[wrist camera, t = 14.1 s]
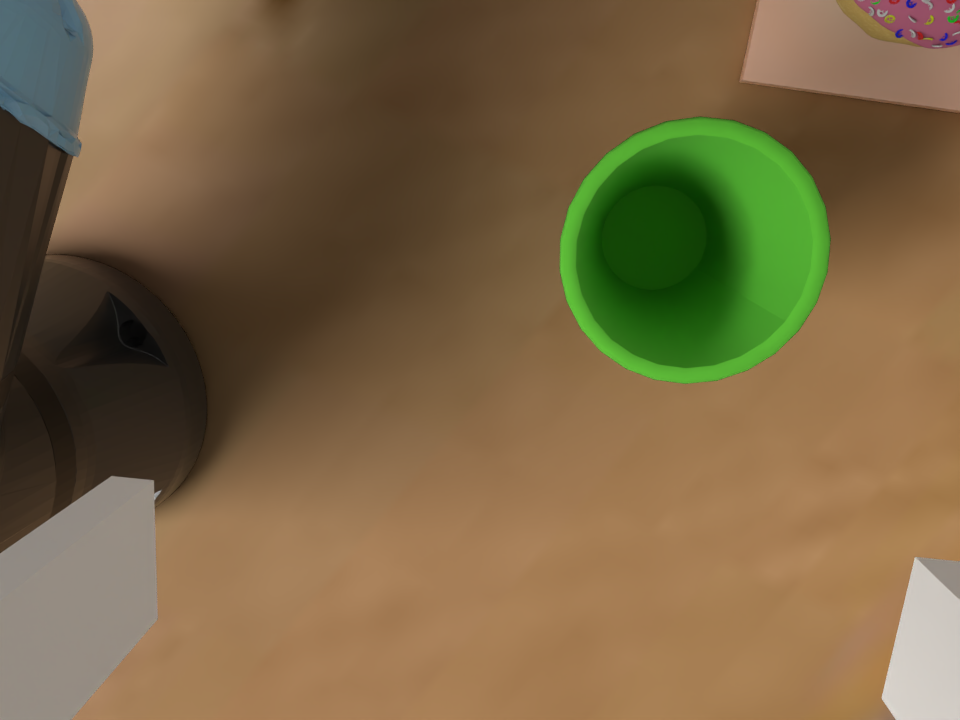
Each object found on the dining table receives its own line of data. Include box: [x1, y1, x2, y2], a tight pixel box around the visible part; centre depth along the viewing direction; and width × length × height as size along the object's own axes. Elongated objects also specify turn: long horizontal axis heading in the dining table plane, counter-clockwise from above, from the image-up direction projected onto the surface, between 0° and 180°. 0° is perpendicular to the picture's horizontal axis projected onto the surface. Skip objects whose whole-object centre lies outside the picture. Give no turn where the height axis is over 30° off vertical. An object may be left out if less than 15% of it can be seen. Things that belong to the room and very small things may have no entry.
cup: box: [560, 117, 831, 384], centre depth 30 cm, size 9×9×11 cm
